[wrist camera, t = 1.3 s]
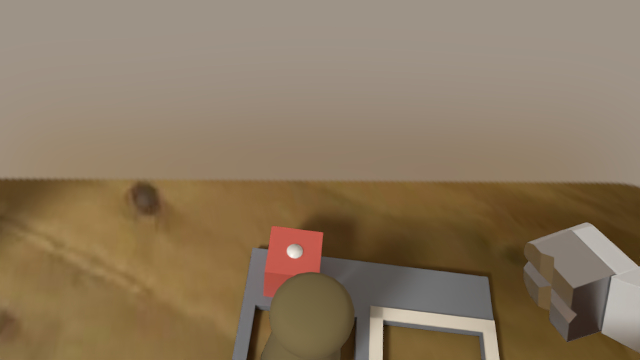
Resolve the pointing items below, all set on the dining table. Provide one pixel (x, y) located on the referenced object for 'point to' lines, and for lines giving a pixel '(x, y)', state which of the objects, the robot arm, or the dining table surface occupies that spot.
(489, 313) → the grey and white frame
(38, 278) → the dining table surface
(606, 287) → the robot arm
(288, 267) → the red cube
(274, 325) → the cork
